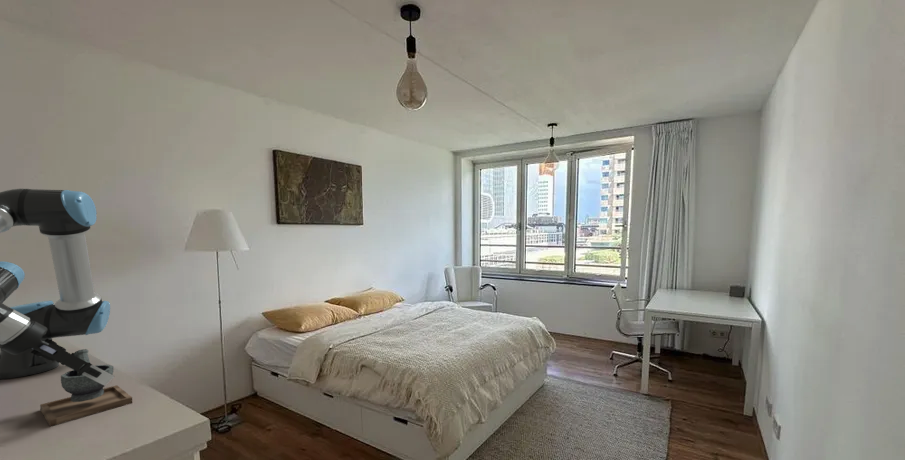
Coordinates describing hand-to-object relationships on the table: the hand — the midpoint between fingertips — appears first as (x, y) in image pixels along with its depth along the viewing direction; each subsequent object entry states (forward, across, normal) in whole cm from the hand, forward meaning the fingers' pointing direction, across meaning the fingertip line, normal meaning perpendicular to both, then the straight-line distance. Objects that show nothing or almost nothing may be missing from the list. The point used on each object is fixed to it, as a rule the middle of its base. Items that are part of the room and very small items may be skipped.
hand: (101, 377), depth 99 cm
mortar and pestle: (+1, 0, -5) cm, 5 cm away
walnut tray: (+3, 0, -7) cm, 7 cm away
